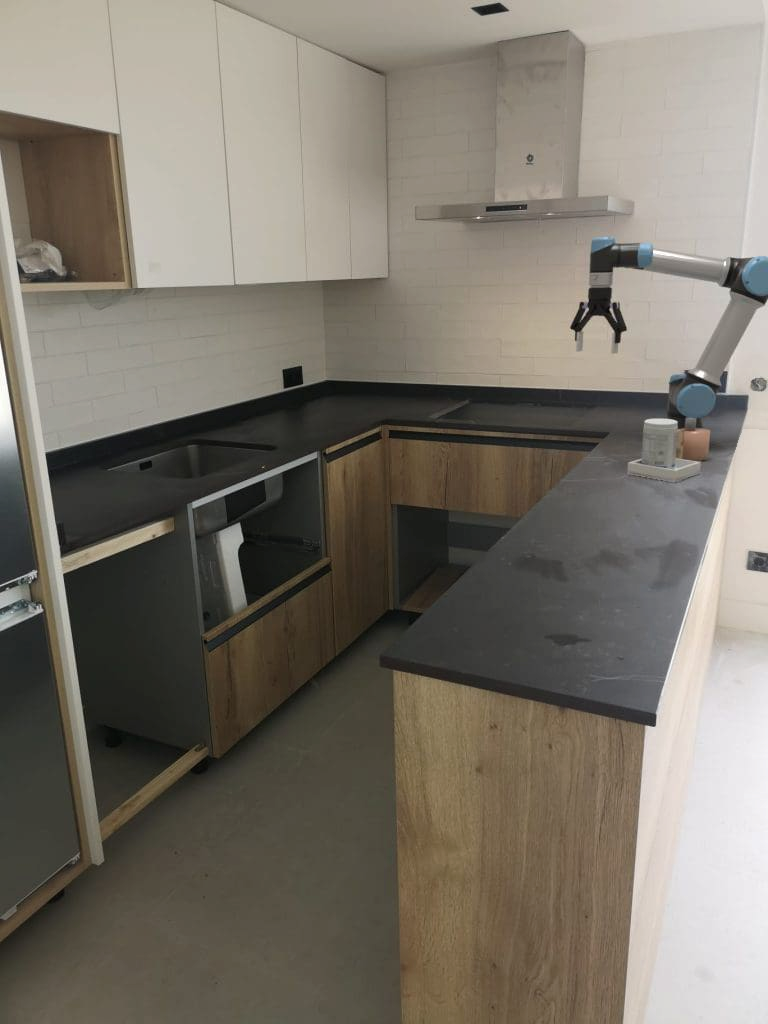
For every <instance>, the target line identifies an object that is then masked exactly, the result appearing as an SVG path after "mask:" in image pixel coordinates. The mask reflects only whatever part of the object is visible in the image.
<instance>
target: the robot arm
mask: <svg viewBox="0 0 768 1024" xmlns="http://www.w3.org/2000/svg"><path fill="white" fill-rule="evenodd" d="M614 268H625V269H633V270H640V271H646V272H651V273H657V274H663V275H664V274H665V275H670V276H675V277H682V278H687V279H693V280H698V281H705V282H712V283H716V284H717V285H718V286H719V287H720V288H721V287H722V288H726V289H729V291H728V292H729V296H730V297H729V298H730V300H729V302H728V304H727V306H726V308H725V310H724V312H723V313H722V315H721V318H720V319H719V321H718V322H717V323H718V324H717V325H716V328H715V329H714V331H713V332H712V334H711V337H710V339H709V341H708V342H707V344H706V346H705V348H704V349H703V352H702V354H701V356H700V357H699V358H698V359H699V360H698V361H697V363H696V365H695V367H694V368H692V369H690V370H688V371H687V372H686V374H685V373H684V374H680V373H679V374H671V376H670V378H669V382H668V385H669V386H668V394H667V395H668V396H667V410H666V418H665V419H672V420H676V421H677V422H678V425H677V426H678V429H682V428H685V420H686V417H694V418H697V419H696V428H702V429H705V428H704V423H703V419H702V418H703V417H705V416H707V415H708V414H710V413H711V411H712V410H713V409H714V407H715V404H716V401H717V400H716V399H717V397H716V396H717V395H718V393H719V390H720V388H721V387H722V383H721V377H722V375H723V373H724V371H725V369H726V367H727V366H728V364H729V362H730V360H731V359H732V356H733V354H734V353H735V350H736V349H737V347H738V346H739V343H740V341H741V339H742V337H743V336H744V334H745V333H746V330H747V328H748V326H749V325H750V323H751V321H752V319H753V317H754V315H755V314H756V312H757V310H758V309H761V308H762V307H765V305H766V304H767V302H768V256H766V255H759V256H756V257H755V256H754V257H753V256H752V257H744V258H743V257H742V258H741V257H740V258H739V257H730V256H728V257H726V258H724V259H723V258H718V257H716V258H715V257H711V256H706V255H705V256H704V255H698V254H692V253H685V252H681V251H680V252H679V251H674V250H667V249H661V248H656V247H655V248H654V246H653V244H652V243H651V242H633V243H632V242H631V243H629V242H626V243H617V242H616V239H615V237H613V236H609V237H608V236H602V237H601V236H599V237H594V238H593V239H592V240H591V244H590V254H589V275H588V277H589V278H588V286H589V288H587V289H588V290H587V291H588V292H587V293H588V295H587V299H588V302H587V301H579V304H578V305H579V306H578V310H577V312H576V314H575V316H574V318H573V321H572V323H571V324H570V328H569V329H571V330H573V331H574V341H575V342H576V343H575V344H576V346H575V352H583V347H584V343H583V342H584V331H583V329H584V328H585V326H586V325H587V324H588V323H589V321H590V320H591V318H593V317H596V316H597V317H604V318H605V320H606V321H607V323H608V324H609V326H610V327H611V329H612V330H613V333H612V335H611V336H612V337H611V350H610V353H611V354H612V355H614V354H618V352H619V344H620V343H621V340H622V339H621V338H622V333H624V332H627V330H628V328H627V326H626V325H627V324H626V323H625V319H624V316H623V314H622V312H621V303H620V302H619V301H613V302H612V301H611V300H612V298H613V297H612V294H613V288H612V287H611V286H613V283H614V282H613V280H614V279H613V278H614ZM586 309H588V310H587V311H586ZM610 309H612V311H611V310H610ZM613 315H614V316H613Z"/></svg>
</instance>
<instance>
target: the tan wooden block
mask: <svg viewBox="0 0 768 1024" xmlns="http://www.w3.org/2000/svg"><path fill="white" fill-rule="evenodd" d="M684 433H685V430H684V429H678V432H677V445H676V458H677V459H682V455H683V444H684Z"/></svg>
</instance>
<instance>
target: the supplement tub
mask: <svg viewBox="0 0 768 1024" xmlns="http://www.w3.org/2000/svg"><path fill="white" fill-rule="evenodd" d="M643 423H644V425H643V428H642V429H643V430H642V445H641V459H642V460H641V464H643V465H649V466H655V467H661V468H667V469H673V470H674V469H675V458H676V445H677V432H678V426H677V425H678V422H677V421H676V420H672V419H666V418H648V419H645V420H644V422H643Z"/></svg>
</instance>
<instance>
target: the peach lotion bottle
mask: <svg viewBox="0 0 768 1024" xmlns="http://www.w3.org/2000/svg"><path fill="white" fill-rule="evenodd" d="M696 419H697V418H694V417H686V420H685V428H682V429H684V430H685V433H684V444H683V455H682V459H684V460H690V461H696V462H703V461H702V460H705V461H707V460H708V458H709V450H710V449H709V448H710V441H711V440H710V438H711V430H710V429H707V428H704V429H702V428H696Z"/></svg>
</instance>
